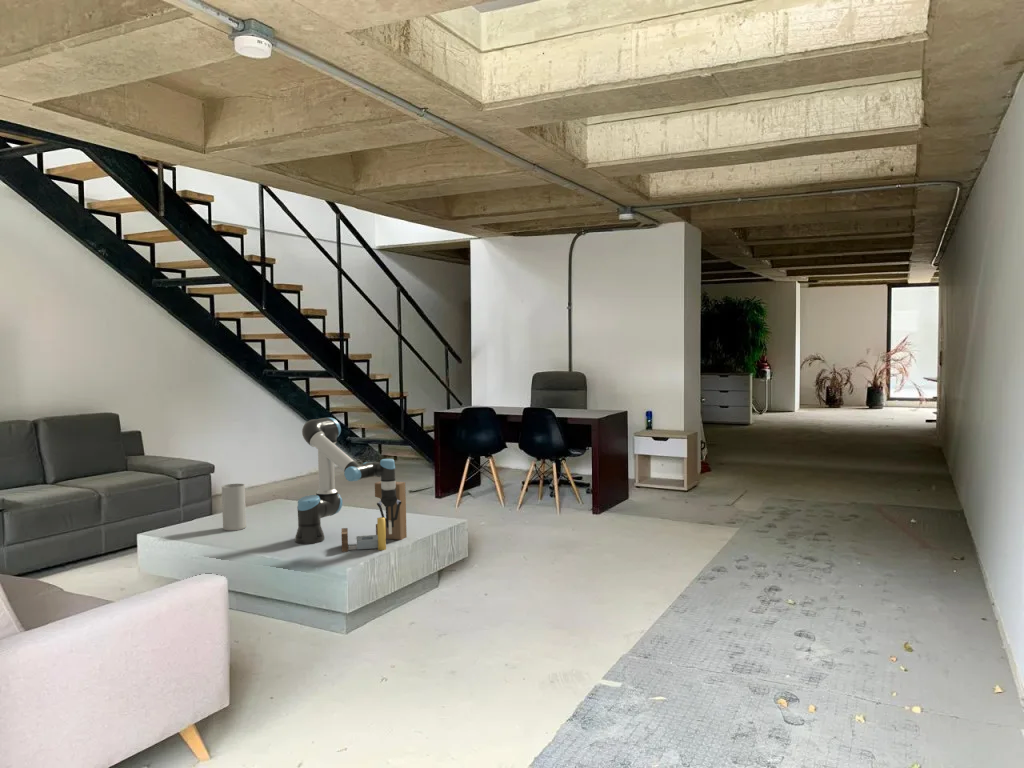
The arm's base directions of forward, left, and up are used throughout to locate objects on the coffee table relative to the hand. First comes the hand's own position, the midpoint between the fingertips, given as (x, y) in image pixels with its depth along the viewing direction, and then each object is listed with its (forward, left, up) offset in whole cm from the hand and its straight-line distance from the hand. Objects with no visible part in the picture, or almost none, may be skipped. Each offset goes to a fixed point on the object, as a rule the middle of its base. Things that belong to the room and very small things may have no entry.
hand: (390, 533), depth 399 cm
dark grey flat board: (+2, -12, -6) cm, 14 cm away
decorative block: (-14, +1, -6) cm, 16 cm away
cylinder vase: (-61, -86, -6) cm, 106 cm away
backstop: (+2, -23, -6) cm, 24 cm away
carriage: (+2, -12, -6) cm, 13 cm away
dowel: (+9, -5, -6) cm, 12 cm away
